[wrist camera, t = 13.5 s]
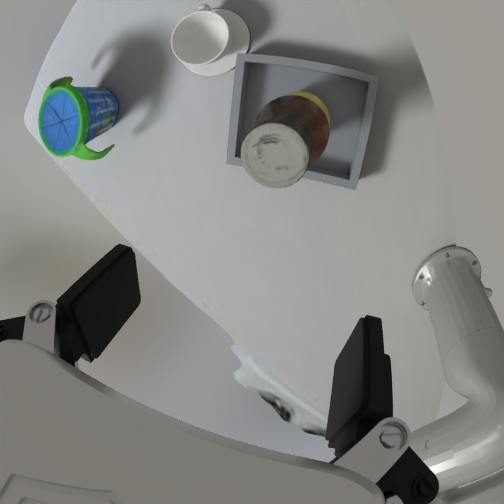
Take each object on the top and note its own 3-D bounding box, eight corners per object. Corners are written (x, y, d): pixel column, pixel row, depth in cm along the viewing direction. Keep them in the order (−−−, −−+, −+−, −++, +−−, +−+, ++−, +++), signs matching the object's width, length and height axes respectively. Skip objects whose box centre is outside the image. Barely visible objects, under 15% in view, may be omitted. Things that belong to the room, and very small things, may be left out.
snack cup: (145, 131, 38) (101, 148, 30) (104, 163, 43) (63, 184, 34) (105, 55, 32) (58, 57, 24) (70, 93, 37) (25, 104, 28)
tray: (374, 78, 27) (379, 76, 24) (353, 181, 35) (355, 190, 32) (245, 56, 30) (237, 53, 27) (234, 157, 37) (226, 163, 35)
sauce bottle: (287, 84, 30) (240, 77, 13) (337, 103, 30) (350, 117, 13) (270, 132, 33) (210, 179, 17) (317, 150, 33) (305, 217, 17)
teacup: (251, 74, 31) (240, 72, 27) (180, 79, 33) (162, 79, 29) (250, 5, 26) (240, -5, 22) (179, 15, 28) (161, 9, 24)
